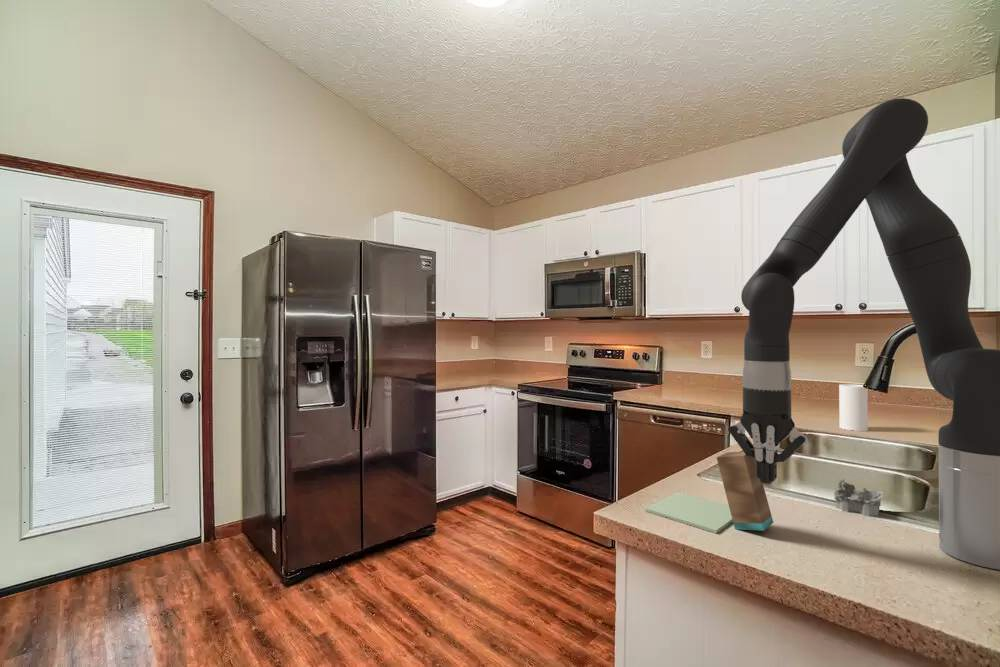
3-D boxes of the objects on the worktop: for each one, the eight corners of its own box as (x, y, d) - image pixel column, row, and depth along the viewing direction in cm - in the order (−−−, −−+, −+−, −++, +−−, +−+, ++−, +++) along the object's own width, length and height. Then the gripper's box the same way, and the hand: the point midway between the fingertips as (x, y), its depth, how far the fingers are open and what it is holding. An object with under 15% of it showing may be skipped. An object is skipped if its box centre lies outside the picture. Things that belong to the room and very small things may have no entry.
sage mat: (745, 512, 91) (745, 509, 91) (716, 533, 81) (716, 530, 81) (678, 494, 101) (678, 491, 101) (645, 511, 92) (645, 508, 92)
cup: (842, 425, 171) (841, 383, 171) (869, 428, 165) (869, 385, 165) (837, 428, 166) (836, 385, 166) (865, 432, 160) (865, 387, 160)
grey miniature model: (841, 496, 100) (840, 478, 100) (885, 505, 94) (885, 486, 94) (830, 509, 92) (830, 489, 92) (878, 520, 87) (878, 499, 87)
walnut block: (773, 522, 83) (753, 450, 85) (763, 530, 79) (743, 455, 82) (745, 521, 86) (727, 452, 89) (734, 529, 83) (716, 457, 85)
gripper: (815, 387, 79) (816, 486, 79) (735, 381, 88) (735, 469, 89) (803, 391, 74) (803, 497, 74) (719, 384, 83) (720, 478, 83)
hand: (766, 482), depth 81 cm, fingers closed
